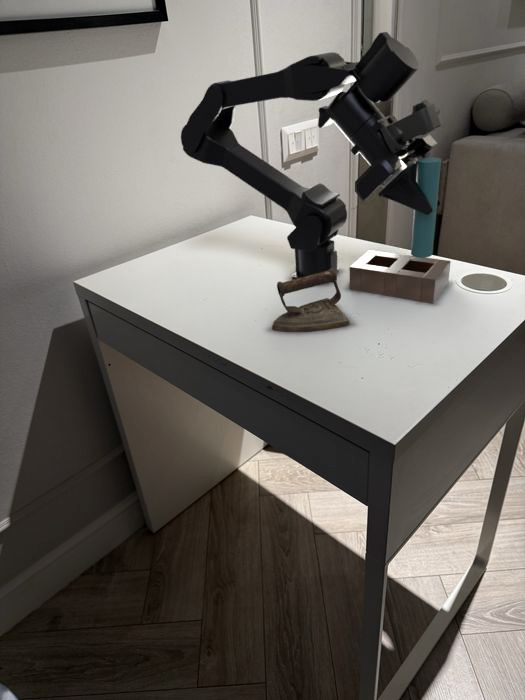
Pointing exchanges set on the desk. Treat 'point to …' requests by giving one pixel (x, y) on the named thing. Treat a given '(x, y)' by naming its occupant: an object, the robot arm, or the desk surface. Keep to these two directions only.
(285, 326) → the clothes iron
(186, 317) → the desk surface
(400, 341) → the desk surface
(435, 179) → the peg
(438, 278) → the peg block
